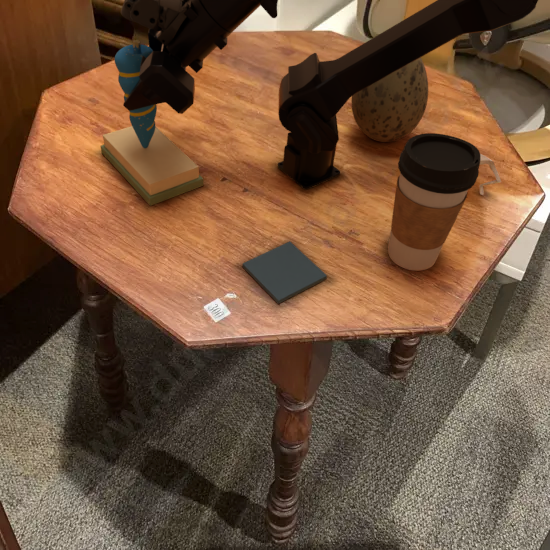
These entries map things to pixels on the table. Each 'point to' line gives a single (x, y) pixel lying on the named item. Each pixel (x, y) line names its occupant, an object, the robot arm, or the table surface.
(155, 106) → the ornament
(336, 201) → the table surface
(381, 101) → the decorative egg
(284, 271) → the mat
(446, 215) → the coffee cup
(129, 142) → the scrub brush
